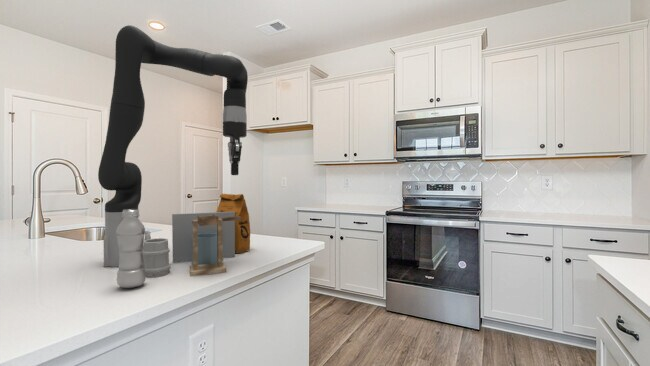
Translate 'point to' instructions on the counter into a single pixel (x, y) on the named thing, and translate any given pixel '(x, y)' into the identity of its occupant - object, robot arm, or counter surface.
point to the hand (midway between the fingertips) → (234, 175)
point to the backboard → (184, 231)
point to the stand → (220, 265)
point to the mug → (156, 256)
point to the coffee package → (241, 226)
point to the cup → (206, 248)
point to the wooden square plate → (214, 219)
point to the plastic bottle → (131, 250)
